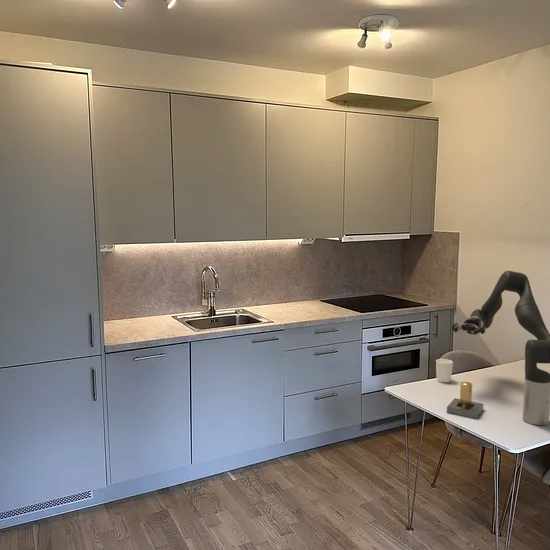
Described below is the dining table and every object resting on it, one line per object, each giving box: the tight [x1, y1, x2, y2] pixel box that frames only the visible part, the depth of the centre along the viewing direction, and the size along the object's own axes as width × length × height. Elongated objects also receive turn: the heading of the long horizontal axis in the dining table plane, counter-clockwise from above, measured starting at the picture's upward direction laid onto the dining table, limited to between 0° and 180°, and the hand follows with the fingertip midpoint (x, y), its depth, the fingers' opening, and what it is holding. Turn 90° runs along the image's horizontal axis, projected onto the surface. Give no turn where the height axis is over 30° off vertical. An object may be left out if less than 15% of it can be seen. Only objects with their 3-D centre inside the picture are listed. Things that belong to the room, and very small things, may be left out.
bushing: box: [459, 381, 473, 409], centre depth 211 cm, size 5×5×12 cm
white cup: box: [435, 358, 453, 383], centre depth 250 cm, size 8×8×10 cm
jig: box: [446, 398, 485, 420], centre depth 211 cm, size 12×12×2 cm
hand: (464, 331), depth 227 cm, fingers open, 8 cm apart
